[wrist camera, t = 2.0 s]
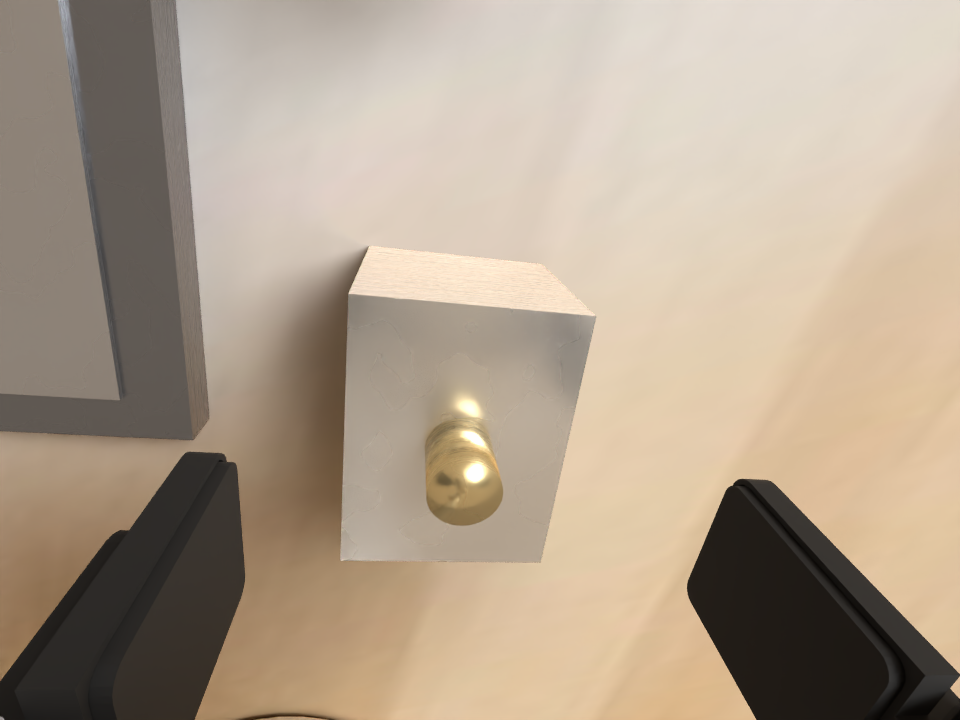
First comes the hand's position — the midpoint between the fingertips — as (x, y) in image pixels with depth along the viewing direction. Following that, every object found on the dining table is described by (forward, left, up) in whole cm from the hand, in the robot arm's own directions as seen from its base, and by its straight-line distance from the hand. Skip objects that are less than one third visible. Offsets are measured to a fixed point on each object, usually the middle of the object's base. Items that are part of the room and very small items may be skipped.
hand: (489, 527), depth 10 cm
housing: (-1, 0, -10) cm, 10 cm away
